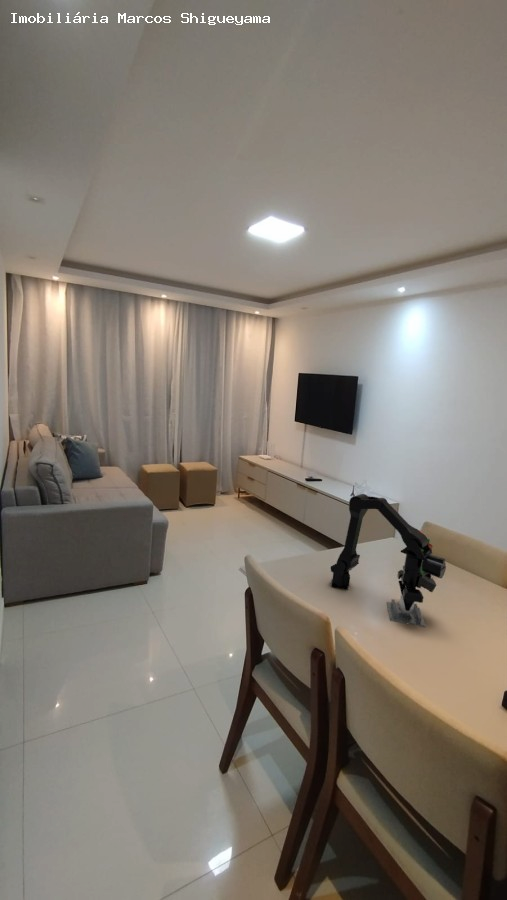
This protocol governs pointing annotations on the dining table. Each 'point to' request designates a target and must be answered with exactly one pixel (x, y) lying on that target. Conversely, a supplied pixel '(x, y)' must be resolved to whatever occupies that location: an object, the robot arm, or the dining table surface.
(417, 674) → the dining table surface
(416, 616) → the cradle
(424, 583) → the robot arm
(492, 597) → the dining table surface
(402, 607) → the grey capped cylinder
